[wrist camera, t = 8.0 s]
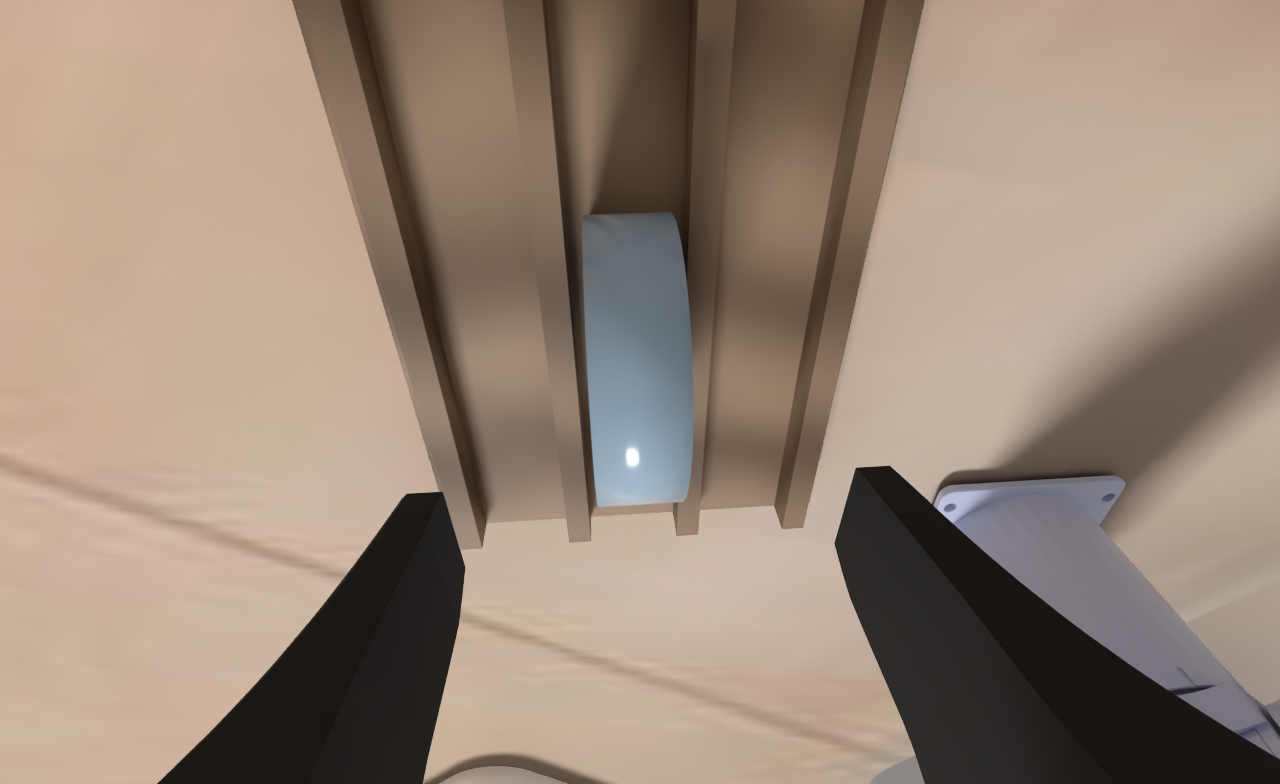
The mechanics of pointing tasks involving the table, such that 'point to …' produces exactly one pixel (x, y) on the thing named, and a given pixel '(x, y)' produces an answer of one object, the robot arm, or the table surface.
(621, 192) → the rack
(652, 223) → the blue-grey thick rounded disc
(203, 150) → the table surface
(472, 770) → the computer
